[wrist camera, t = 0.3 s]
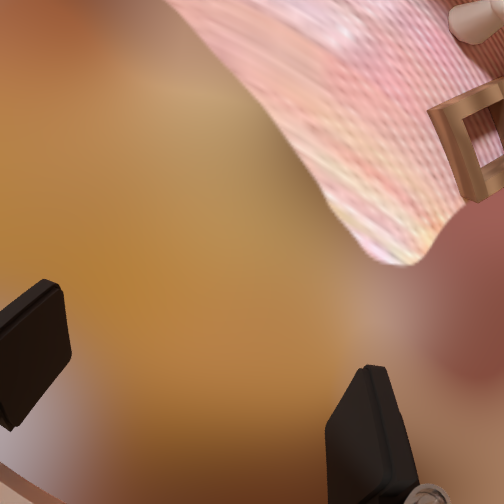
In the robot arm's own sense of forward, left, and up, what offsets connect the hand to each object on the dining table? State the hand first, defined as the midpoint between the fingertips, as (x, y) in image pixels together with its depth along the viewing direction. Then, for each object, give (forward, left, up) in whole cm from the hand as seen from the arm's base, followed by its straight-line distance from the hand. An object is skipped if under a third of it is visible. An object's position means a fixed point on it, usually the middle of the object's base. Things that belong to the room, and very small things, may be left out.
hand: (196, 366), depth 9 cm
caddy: (-20, +29, -31) cm, 47 cm away
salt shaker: (-30, +19, -31) cm, 47 cm away
